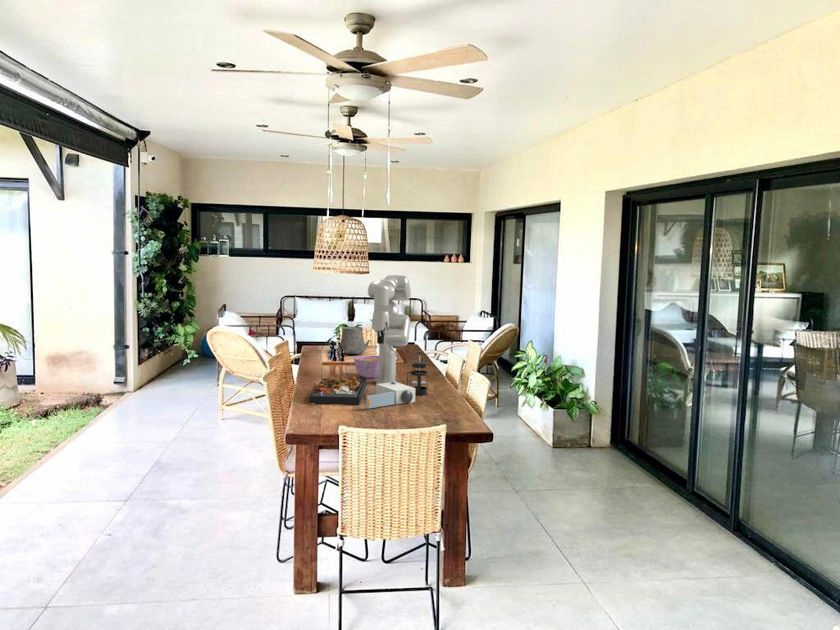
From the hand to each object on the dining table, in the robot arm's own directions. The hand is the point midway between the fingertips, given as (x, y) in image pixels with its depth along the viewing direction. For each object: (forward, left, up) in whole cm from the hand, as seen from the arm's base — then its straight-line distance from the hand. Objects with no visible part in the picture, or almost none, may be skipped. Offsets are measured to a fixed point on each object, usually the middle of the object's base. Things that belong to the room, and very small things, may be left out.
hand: (380, 343), depth 333 cm
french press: (+10, +18, -27) cm, 34 cm away
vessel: (-120, +53, -27) cm, 134 cm away
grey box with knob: (+15, 0, -27) cm, 31 cm away
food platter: (-9, -19, -28) cm, 35 cm away
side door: (+26, -15, -26) cm, 40 cm away
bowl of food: (-41, +20, -27) cm, 53 cm away
